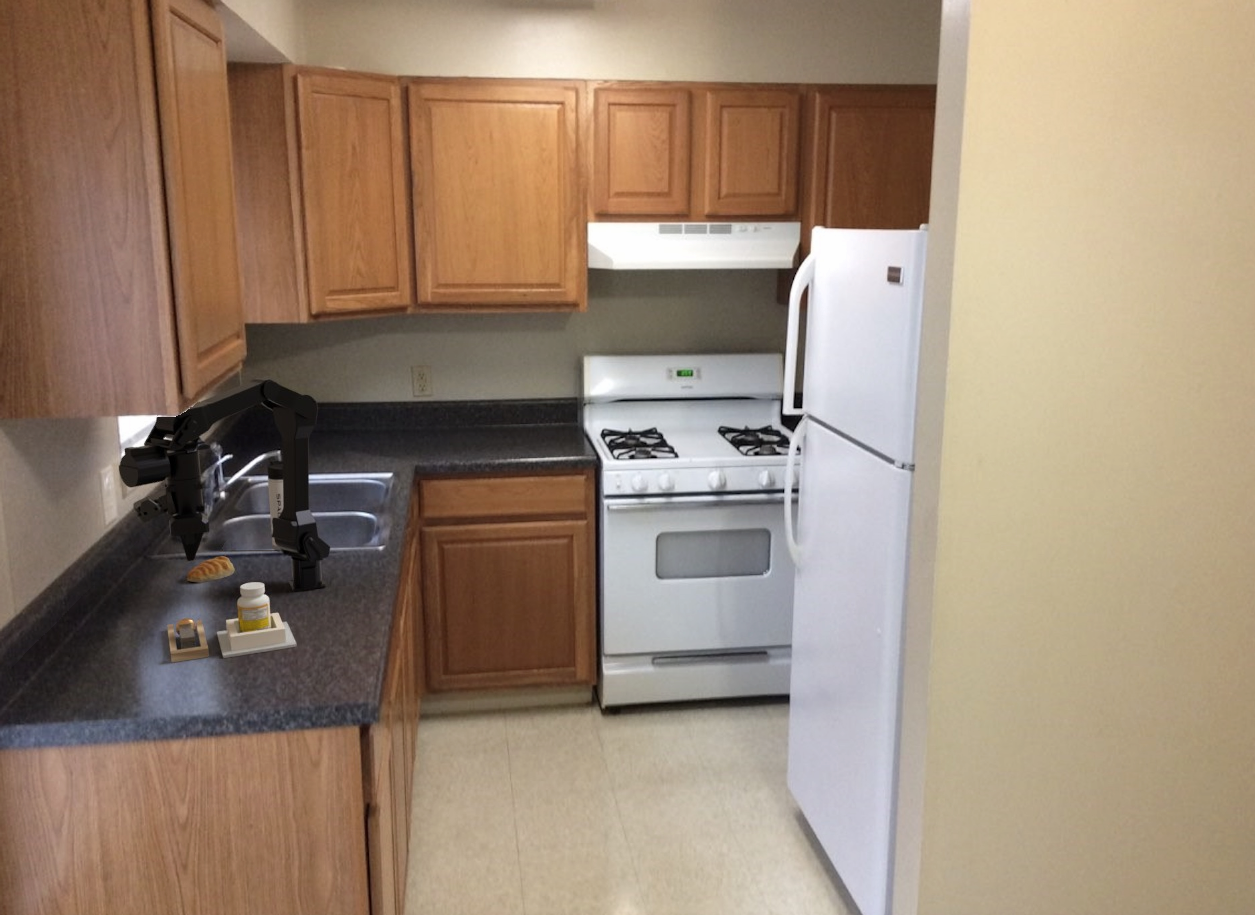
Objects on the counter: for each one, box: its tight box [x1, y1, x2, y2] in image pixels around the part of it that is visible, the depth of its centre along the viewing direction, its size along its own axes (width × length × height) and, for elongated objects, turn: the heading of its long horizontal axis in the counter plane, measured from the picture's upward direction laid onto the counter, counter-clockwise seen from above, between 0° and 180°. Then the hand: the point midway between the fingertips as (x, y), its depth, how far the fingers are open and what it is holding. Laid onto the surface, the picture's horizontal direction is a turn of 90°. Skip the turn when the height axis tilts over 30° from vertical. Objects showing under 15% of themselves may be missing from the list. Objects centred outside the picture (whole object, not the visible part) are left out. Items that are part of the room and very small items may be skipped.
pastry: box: [186, 555, 236, 584], centre depth 215 cm, size 9×7×4 cm
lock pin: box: [175, 617, 197, 649], centre depth 180 cm, size 8×3×3 cm, turn 26°
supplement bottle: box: [236, 581, 271, 633], centre depth 180 cm, size 5×5×10 cm
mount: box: [166, 619, 210, 663], centre depth 180 cm, size 16×6×2 cm, turn 26°
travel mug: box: [266, 459, 283, 551], centre depth 235 cm, size 6×7×20 cm
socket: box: [216, 612, 298, 659], centre depth 181 cm, size 12×12×3 cm
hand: (190, 560), depth 187 cm, fingers closed
